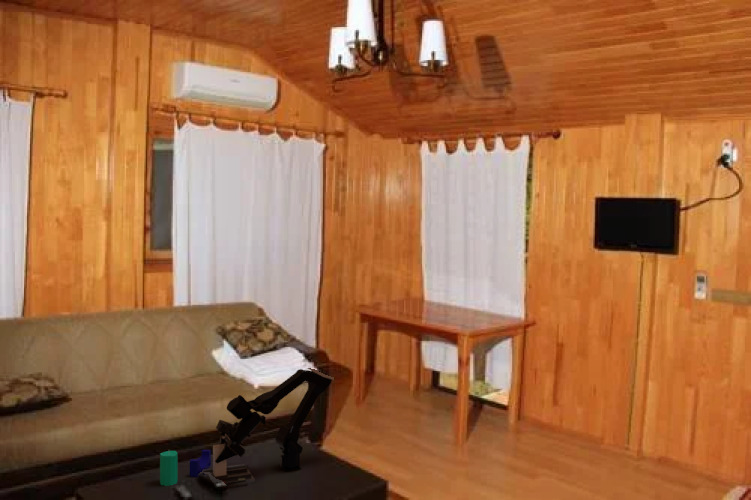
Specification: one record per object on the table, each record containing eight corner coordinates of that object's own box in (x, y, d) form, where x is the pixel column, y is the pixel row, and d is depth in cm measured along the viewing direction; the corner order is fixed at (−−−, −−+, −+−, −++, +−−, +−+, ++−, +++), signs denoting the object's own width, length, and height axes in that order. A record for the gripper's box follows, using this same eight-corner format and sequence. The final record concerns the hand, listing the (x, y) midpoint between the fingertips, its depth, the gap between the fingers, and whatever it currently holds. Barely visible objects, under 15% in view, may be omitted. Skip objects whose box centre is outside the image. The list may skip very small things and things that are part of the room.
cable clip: (199, 464, 255) (199, 449, 255) (210, 465, 255) (210, 450, 254) (185, 476, 244) (185, 460, 243) (197, 477, 243) (197, 461, 243)
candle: (161, 487, 233) (161, 452, 233) (158, 481, 239) (158, 447, 238) (179, 484, 236) (179, 450, 236) (175, 478, 242) (175, 445, 241)
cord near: (246, 484, 237) (246, 481, 237) (247, 485, 236) (247, 482, 236) (228, 487, 234) (228, 483, 234) (228, 488, 233) (228, 484, 233)
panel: (246, 470, 250) (246, 465, 250) (254, 482, 239) (254, 476, 239) (208, 475, 244) (208, 470, 244) (214, 488, 233) (214, 482, 233)
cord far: (246, 466, 254) (246, 462, 254) (248, 469, 251) (248, 465, 251) (201, 472, 247) (201, 468, 247) (203, 475, 245) (203, 471, 245)
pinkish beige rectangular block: (225, 473, 243) (225, 443, 242) (227, 477, 239) (228, 447, 238) (211, 475, 241) (211, 445, 240) (213, 479, 237) (213, 448, 236)
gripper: (224, 405, 249) (194, 438, 245) (235, 419, 232) (203, 455, 228) (245, 424, 252) (215, 457, 248) (258, 439, 235) (226, 474, 231)
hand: (214, 460), depth 239 cm, fingers closed on pinkish beige rectangular block, 4 cm apart
